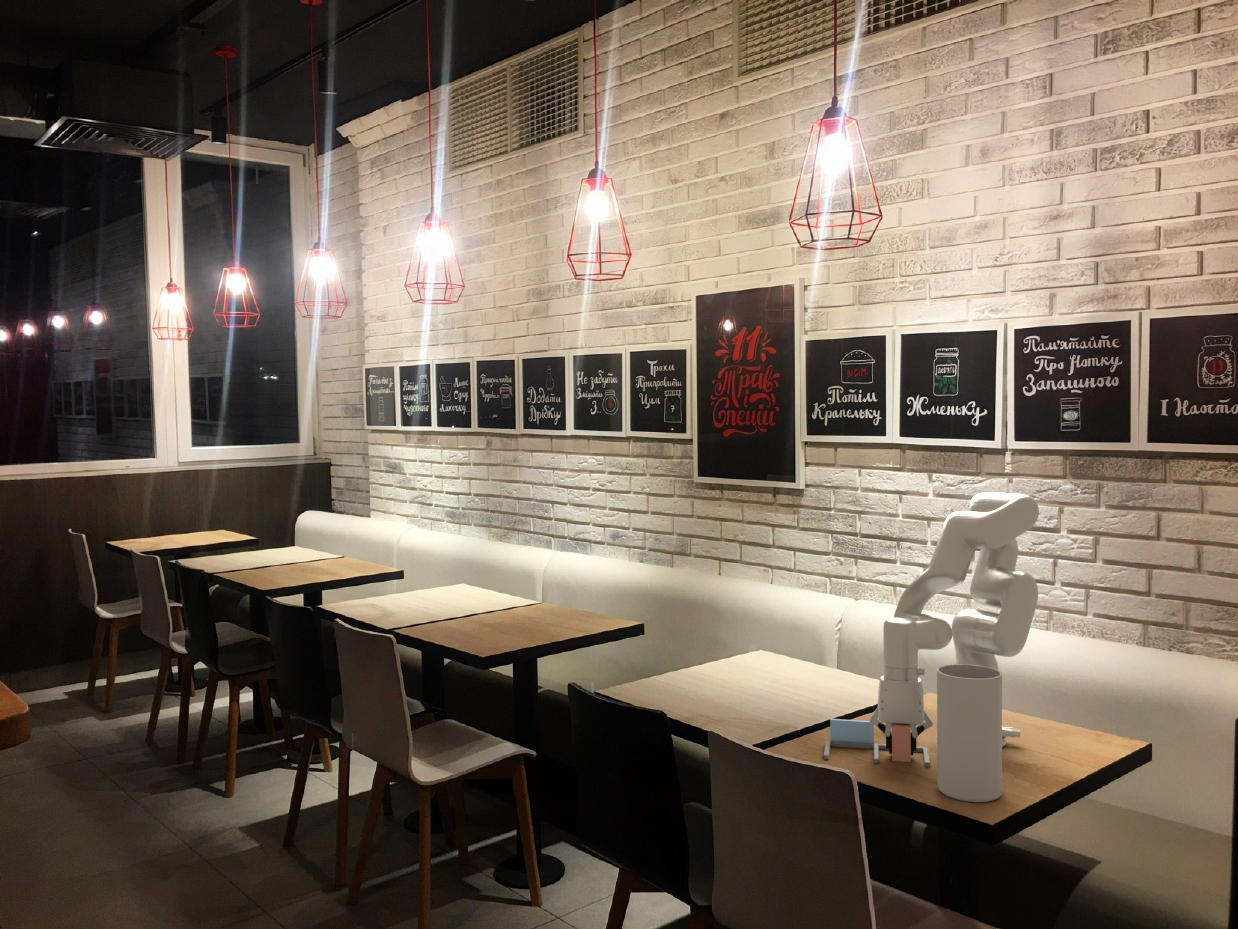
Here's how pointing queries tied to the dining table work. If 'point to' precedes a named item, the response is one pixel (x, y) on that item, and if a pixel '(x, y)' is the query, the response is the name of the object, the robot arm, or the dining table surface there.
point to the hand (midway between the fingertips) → (901, 752)
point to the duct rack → (859, 738)
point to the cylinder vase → (969, 732)
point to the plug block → (901, 742)
